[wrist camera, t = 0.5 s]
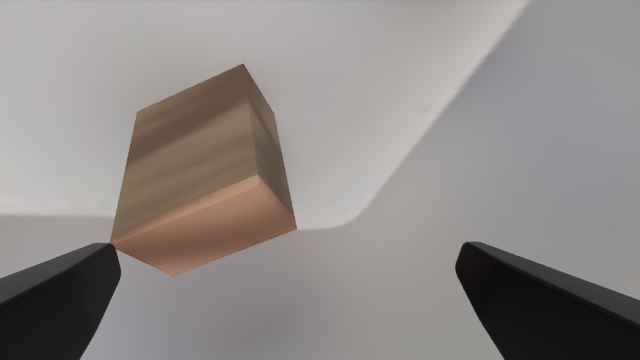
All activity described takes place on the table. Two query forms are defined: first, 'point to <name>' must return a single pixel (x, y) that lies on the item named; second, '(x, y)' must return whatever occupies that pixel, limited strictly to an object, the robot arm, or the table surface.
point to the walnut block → (203, 176)
